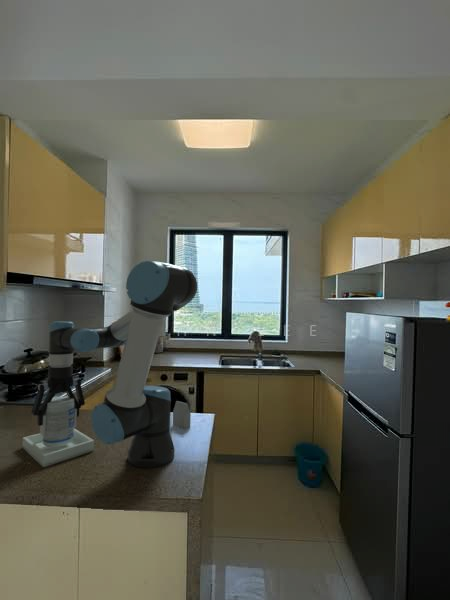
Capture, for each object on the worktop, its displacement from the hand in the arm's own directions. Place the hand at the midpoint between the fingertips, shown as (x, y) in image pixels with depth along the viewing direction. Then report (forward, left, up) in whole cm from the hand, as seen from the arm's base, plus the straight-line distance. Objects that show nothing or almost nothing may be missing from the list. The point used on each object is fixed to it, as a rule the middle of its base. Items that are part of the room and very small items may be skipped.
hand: (58, 430), depth 110 cm
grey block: (-14, -44, -7) cm, 47 cm away
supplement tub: (0, 0, -4) cm, 4 cm away
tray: (0, 0, -7) cm, 7 cm away
